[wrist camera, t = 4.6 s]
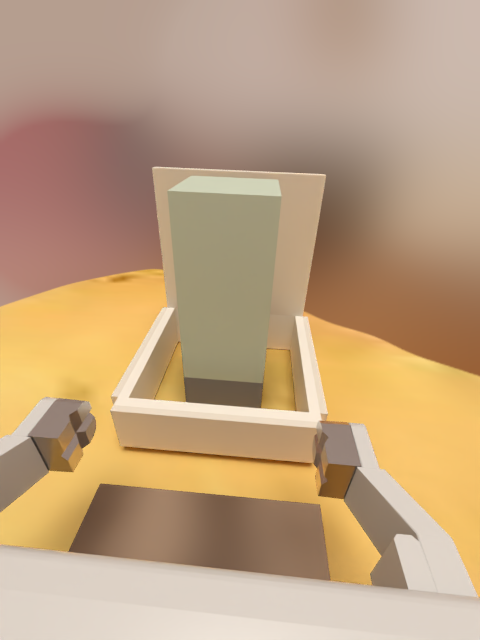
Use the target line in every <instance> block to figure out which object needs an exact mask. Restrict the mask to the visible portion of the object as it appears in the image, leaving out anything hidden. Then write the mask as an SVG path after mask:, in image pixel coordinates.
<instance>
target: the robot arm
mask: <svg viewBox="0 0 480 640" xmlns="http://www.w3.org/2000/svg"><path fill="white" fill-rule="evenodd" d="M90 410H91V406H90V403H89V402H87V401H79V400H70V399H61V398H51V397H45V398H43V399H42V400H40V401H39V403H38V404H37V405H36V406H35V407H34V409H33V410H32V411H31V412H30V413H29V414H28V416H27V417H26V418H25V419H24V420H23V422H22V423H21V424H20V425H19V426H18V427H17V429H16V430H15V431H14V432H13V433H12V435H6V436H4V437H2V438H0V512H1V511H3V510H4V509H5V508H6V507H7V506H9V505H10V504H11V503H12V502H14V501H15V500H16V499H17V498H18V497H20V496H21V495H22V494H23V493H24V492H26V491H27V490H28V489H29V488H30V487H32V486H33V485H34V484H35V483H36V482H38V481H39V480H40V479H41V478H42V477H44V476H45V475H46V474H47V473H49V471H61V472H74V470H75V468H76V466H77V465H78V463H79V461H80V460H81V458H82V456H83V450H82V448H84V447H85V446H86V445H88V444H89V443H90V442H91V440H92V438H93V436H94V433H95V429H96V420H95V417H94V416H93V415H92V414H91V413H89V411H90ZM316 429H317V434H316V435H315V436H314V439H313V446H312V455H313V464H314V465H315V466H316V467H317V471H316V475H315V479H316V486H317V493H318V496H322V497H330V498H338V499H344V502H345V503H346V505H347V506H348V508H349V509H350V511H351V512H352V513H353V515H354V516H355V518H356V519H357V521H358V522H359V524H360V525H361V527H362V528H363V530H364V531H365V533H366V534H367V535H368V537H369V538H370V540H371V541H372V543H373V544H374V546H375V547H376V549H377V550H378V552H379V553H380V555H381V556H382V557H381V558H380V560H379V561H378V563H377V564H376V566H375V567H374V569H373V570H372V572H371V573H370V576H371V581H372V585H364V584H355V583H346V582H337V581H328V580H319V579H310V578H301V577H292V576H283V575H274V574H265V573H256V572H247V571H238V570H229V569H220V568H211V567H202V566H193V565H184V564H175V563H166V562H157V561H148V560H139V559H130V558H121V557H111V556H102V555H93V554H84V553H75V552H66V551H57V550H48V549H39V548H30V547H21V546H12V545H3V544H0V640H480V597H478V595H477V593H476V591H475V589H474V586H473V584H472V582H471V580H470V577H469V575H468V573H467V571H466V568H465V566H464V564H463V562H462V559H461V557H460V555H459V553H458V551H457V548H456V546H455V544H454V542H453V539H452V538H451V537H450V536H449V535H448V534H447V533H446V532H445V531H444V530H443V529H442V528H441V527H440V526H439V525H438V524H437V522H436V521H435V520H434V519H433V518H432V517H431V516H430V515H429V514H428V513H427V512H426V511H425V510H424V509H423V508H422V507H421V506H420V505H419V504H418V503H417V502H416V501H415V500H414V499H413V498H412V497H411V496H410V495H409V494H408V493H407V492H406V491H405V490H404V489H403V488H402V487H401V486H400V485H399V484H398V483H397V482H396V481H395V480H394V479H393V478H392V477H391V476H390V475H389V474H388V473H387V472H386V471H385V470H384V469H380V468H379V465H378V462H377V459H376V456H375V453H374V450H373V447H372V444H371V441H370V438H369V435H368V432H367V429H366V426H365V425H364V424H356V423H347V422H334V421H320V420H319V421H318V423H317V426H316Z"/></svg>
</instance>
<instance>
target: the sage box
mask: <svg viewBox="0 0 480 640" xmlns="http://www.w3.org/2000/svg"><path fill="white" fill-rule="evenodd" d="M167 193H168V204H169V215H170V227H171V238H172V249H173V260H174V271H175V283H176V294H177V305H178V316H179V327H180V339H181V350H182V361H183V372H184V384H185V395H186V402H188V403H200V404H212V405H225V406H237V407H249V408H261V399H262V389H263V379H264V369H265V358H266V348H267V338H268V328H269V318H270V308H271V298H272V288H273V278H274V268H275V258H276V248H277V238H278V228H279V218H280V208H281V198H282V196H281V191H280V186H279V181H278V180H275V179H254V178H232V177H211V176H190V177H188V178H187V179H185V180H184V181H182V182H180V183H179V184H177V185H176V186H174V187H173V188H171V189H169V190H168V191H167Z"/></svg>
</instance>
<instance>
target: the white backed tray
mask: <svg viewBox="0 0 480 640" xmlns="http://www.w3.org/2000/svg"><path fill="white" fill-rule="evenodd" d="M152 171H153V179H154V188H155V197H156V206H157V216H158V224H159V234H160V243H161V252H162V261H163V270H164V279H165V288H166V297H167V306H168V308H167V307H163V308H162V310H161V311H160V313H159V315H158V317H157V318H156V320H155V322H154V323H153V325H152V327H151V329H150V330H149V332H148V334H147V335H146V337H145V339H144V341H143V342H142V344H141V346H140V347H139V349H138V351H137V353H136V354H135V356H134V358H133V359H132V361H131V363H130V365H129V366H128V368H127V370H126V371H125V373H124V375H123V377H122V378H121V380H120V382H119V383H118V385H117V387H116V389H115V390H114V392H113V394H112V396H111V398H112V401H113V407H112V409H111V410H110V412H111V415H112V419H113V422H114V425H115V429H116V432H117V436H118V439H119V443H120V446H126V447H138V448H149V449H160V450H171V451H182V452H193V453H205V454H216V455H227V456H238V457H249V458H260V459H271V460H283V461H294V462H305V463H313V455H312V446H313V439H314V436H315V435H316V434H317V429H316V426H317V423H318V421H319V420H320V421H326V419H327V415H328V412H327V407H326V403H325V398H324V393H323V388H322V384H321V379H320V374H319V369H318V364H317V360H316V355H315V350H314V345H313V341H312V336H311V331H310V326H309V322H308V317H303V311H304V304H305V299H306V293H307V287H308V281H309V275H310V269H311V263H312V257H313V251H314V245H315V239H316V233H317V227H318V221H319V215H320V209H321V203H322V197H323V191H324V185H325V179H326V175H324V174H304V173H303V174H302V173H282V172H259V171H237V170H213V169H191V168H169V167H168V168H167V167H153V168H152ZM190 176H211V177H232V178H254V179H275V180H278V181H279V186H280V191H281V196H282V198H281V208H280V218H279V228H278V238H277V248H276V258H275V268H274V278H273V288H272V298H271V308H270V318H269V328H268V338H267V348H270V349H284V350H290V354H291V364H292V374H293V384H294V394H295V404H296V411H286V410H274V409H261V408H249V407H237V406H225V405H212V404H200V403H188V402H176V401H163V400H154V398H155V396H156V393H157V391H158V388H159V386H160V384H161V381H162V379H163V376H164V374H165V372H166V369H167V367H168V364H169V362H170V360H171V357H172V355H173V353H174V350H175V348H176V345H177V343H178V342H181V339H180V327H179V316H178V305H177V294H176V283H175V271H174V260H173V249H172V238H171V227H170V215H169V204H168V193H167V191H168V190H169V189H171V188H173V187H174V186H176V185H177V184H179V183H180V182H182V181H184V180H185V179H187V178H188V177H190Z"/></svg>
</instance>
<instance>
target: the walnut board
mask: <svg viewBox="0 0 480 640" xmlns="http://www.w3.org/2000/svg"><path fill="white" fill-rule="evenodd" d="M68 552H75V553H84V554H93V555H102V556H111V557H121V558H130V559H139V560H148V561H157V562H166V563H175V564H184V565H193V566H202V567H211V568H220V569H229V570H238V571H247V572H256V573H265V574H274V575H283V576H292V577H301V578H310V579H319V580H328V581H330V574H329V567H328V559H327V552H326V545H325V538H324V531H323V523H322V516H321V509H320V505H319V504H308V503H298V502H287V501H277V500H267V499H256V498H246V497H235V496H225V495H215V494H204V493H194V492H183V491H173V490H162V489H152V488H142V487H131V486H121V485H110V484H100V485H99V488H98V490H97V492H96V494H95V496H94V498H93V500H92V502H91V505H90V507H89V509H88V511H87V513H86V515H85V517H84V520H83V522H82V524H81V526H80V528H79V530H78V532H77V534H76V537H75V539H74V541H73V543H72V545H71V547H70V549H69V551H68Z"/></svg>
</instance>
